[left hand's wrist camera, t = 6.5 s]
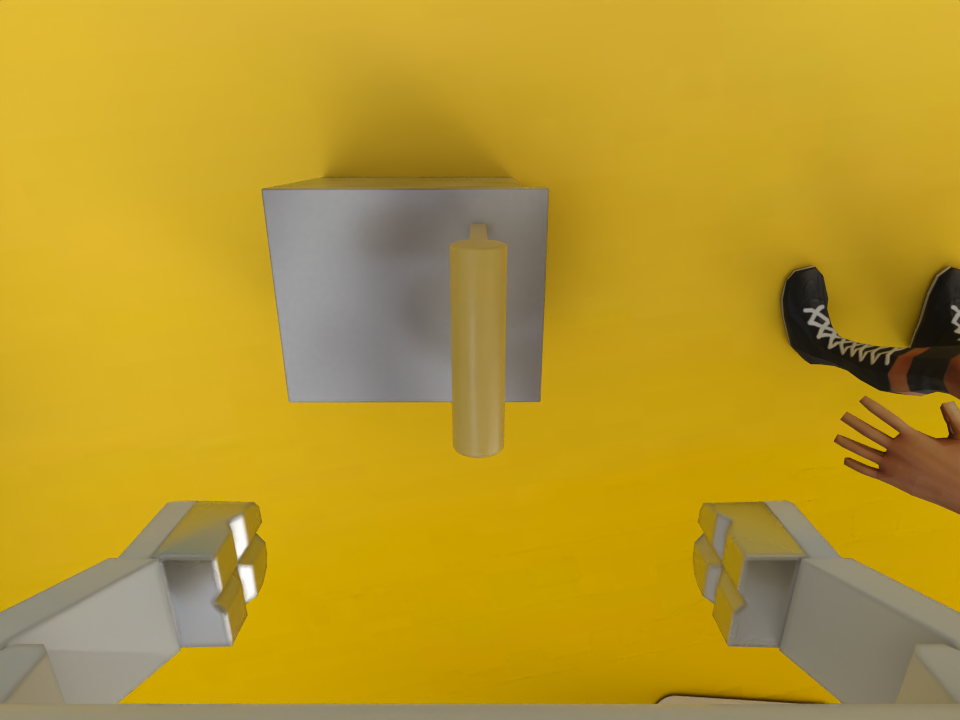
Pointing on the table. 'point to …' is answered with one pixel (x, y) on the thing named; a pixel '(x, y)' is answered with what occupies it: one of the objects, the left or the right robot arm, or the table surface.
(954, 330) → the figurine
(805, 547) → the left robot arm
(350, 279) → the lid
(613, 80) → the table surface
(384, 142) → the table surface
